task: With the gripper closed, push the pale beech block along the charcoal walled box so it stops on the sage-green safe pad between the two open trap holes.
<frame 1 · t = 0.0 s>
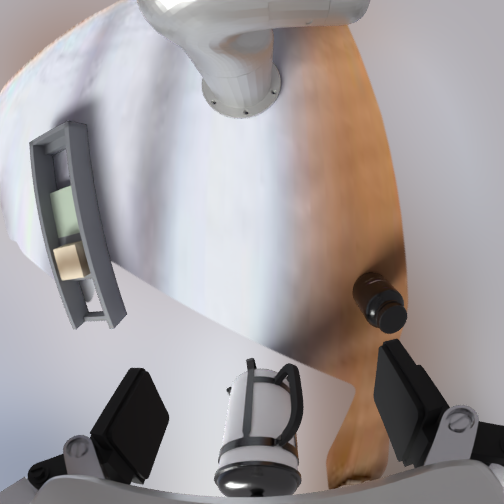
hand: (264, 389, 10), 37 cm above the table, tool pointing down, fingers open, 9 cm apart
trap box: (80, 226, 47), on the table
supplement bottle: (368, 288, 48), on the table
beech block: (79, 257, 46), point 2 cm above the table, touching trap box
coffee press: (262, 378, 54), on the table
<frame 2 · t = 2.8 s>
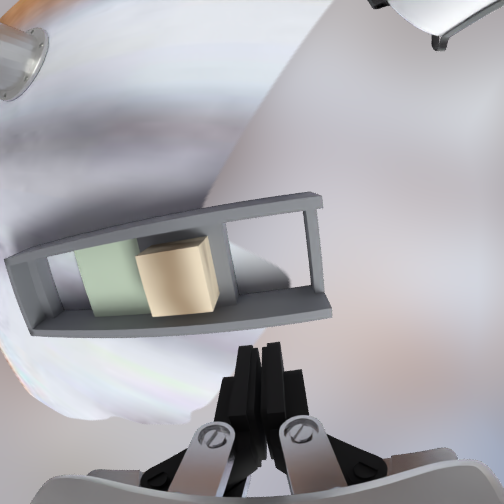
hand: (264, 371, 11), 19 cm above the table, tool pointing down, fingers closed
trap box: (146, 268, 31), on the table
beech block: (185, 269, 28), point 2 cm above the table, touching trap box
coffee press: (404, 3, 20), on the table
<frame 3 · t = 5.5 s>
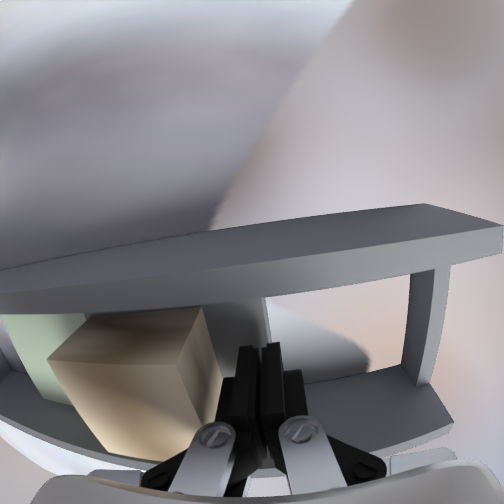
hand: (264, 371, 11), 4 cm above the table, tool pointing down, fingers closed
trap box: (108, 337, 15), on the table
beech block: (159, 365, 13), point 3 cm above the table, touching gripper, trap box
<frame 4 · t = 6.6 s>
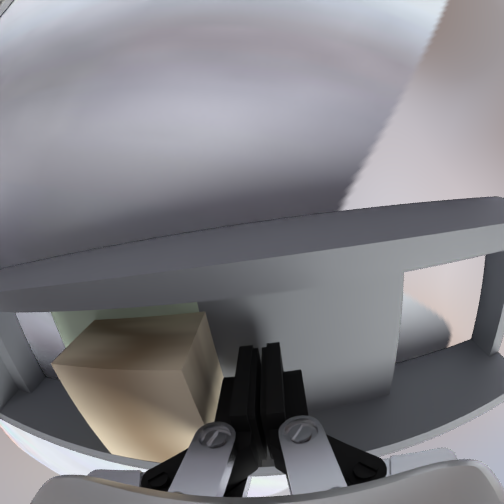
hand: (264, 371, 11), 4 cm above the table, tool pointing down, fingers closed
trap box: (201, 332, 15), on the table
beech block: (162, 368, 13), point 3 cm above the table, touching gripper
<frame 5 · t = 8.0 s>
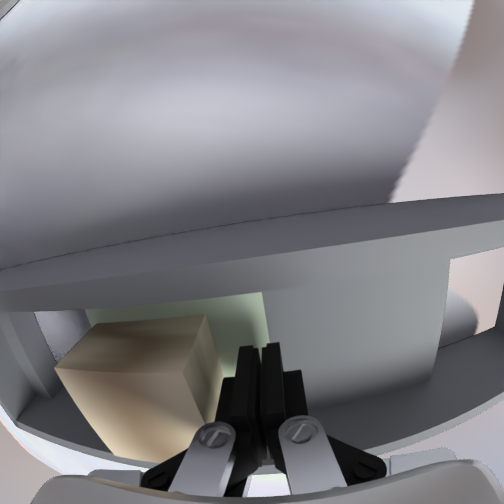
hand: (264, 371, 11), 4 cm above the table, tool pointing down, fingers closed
trap box: (251, 326, 15), on the table
beech block: (164, 370, 13), point 2 cm above the table, touching gripper, trap box
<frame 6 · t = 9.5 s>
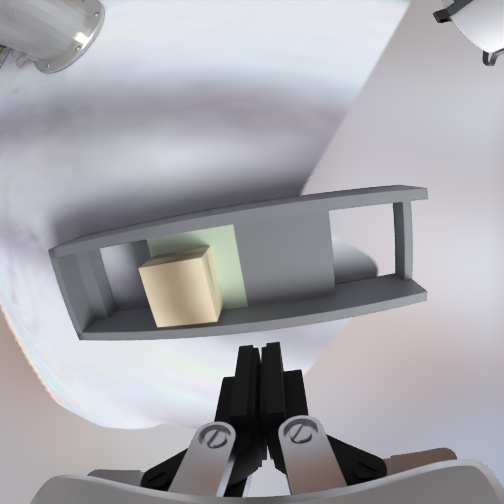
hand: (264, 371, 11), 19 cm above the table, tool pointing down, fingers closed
trap box: (233, 258, 30), on the table
beech block: (188, 279, 28), point 2 cm above the table, touching trap box
coffee press: (459, 19, 19), on the table
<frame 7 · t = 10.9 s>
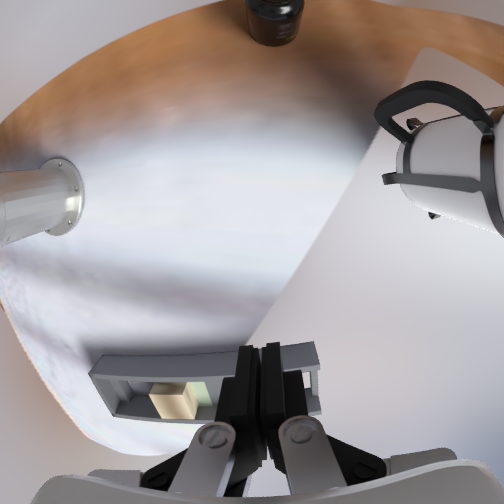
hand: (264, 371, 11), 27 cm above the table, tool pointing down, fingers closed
trap box: (203, 379, 44), on the table
supplement bottle: (273, 30, 30), on the table
beech block: (177, 391, 42), point 2 cm above the table, touching trap box
coffee press: (415, 165, 34), on the table
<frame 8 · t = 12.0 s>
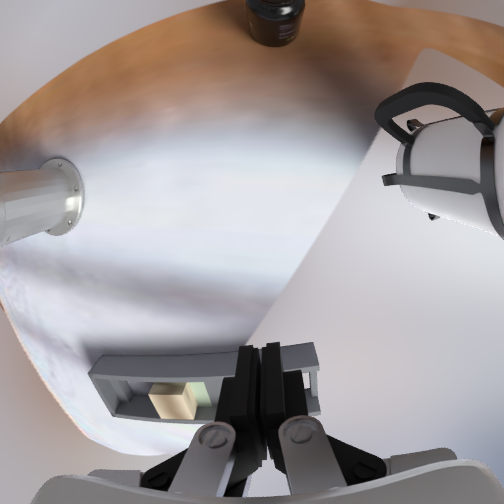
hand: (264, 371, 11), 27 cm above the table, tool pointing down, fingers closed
trap box: (202, 379, 44), on the table
supplement bottle: (273, 30, 30), on the table
beech block: (176, 391, 42), point 2 cm above the table, touching trap box
coffee press: (415, 167, 34), on the table
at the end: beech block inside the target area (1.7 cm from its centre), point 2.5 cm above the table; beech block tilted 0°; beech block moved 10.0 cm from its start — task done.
